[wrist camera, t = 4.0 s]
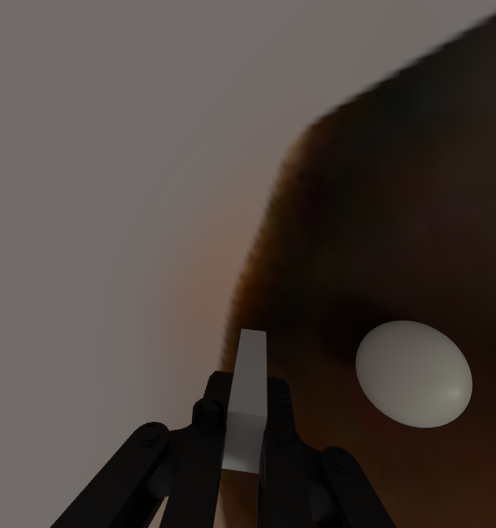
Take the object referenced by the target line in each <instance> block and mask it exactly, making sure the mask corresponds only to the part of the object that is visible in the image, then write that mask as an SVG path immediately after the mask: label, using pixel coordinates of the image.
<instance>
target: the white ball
mask: <svg viewBox="0 0 496 528" xmlns="http://www.w3.org/2000/svg"><path fill="white" fill-rule="evenodd" d="M356 372H357V377H358V380H359V383H360V385H361V387H362V389H363V391H364V393H365V394H366V396H367V397H368V399H369V400H370V401H371V402H372V403H373V404H374V405H375V407H376V408H378V409H379V410H380V411H381V412H383V413H384V414H385V415H387V416H388V417H390V418H392V419H393V420H395V421H398V422H400V423H403V424H406V425H409V426H413V427H421V428H431V427H437V426H441V425H444V424H447V423H449V422H451V421H453V420H454V419H456V418H457V417H458V416H459V415H460V414H461V413H462V412H463V411H464V410H465V408H466V407H467V405H468V403H469V401H470V397H471V393H472V376H471V372H470V368H469V366H468V363H467V361H466V359H465V357H464V356H463V354H462V352H461V351H460V350H459V349H458V347H457V346H456V345H455V344H454V343H453V342H452V341H451V340H450V339H449V338H448V337H447V336H445V335H444V334H442V333H441V332H439V331H438V330H436V329H434V328H432V327H430V326H427V325H425V324H422V323H418V322H413V321H392V322H387V323H384V324H382V325H379V326H378V327H376V328H374V329H373V330H371V331H370V332H369V333H368V334H367V335H366V336H365V337H364V339H363V340H362V342H361V343H360V346H359V348H358V351H357V355H356Z"/></svg>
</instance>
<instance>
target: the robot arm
mask: <svg viewBox="0 0 496 528" xmlns="http://www.w3.org/2000/svg"><path fill="white" fill-rule="evenodd" d="M222 468H224V469H231V470H238V471H245V472H252V473H258V474H259V482H258V488H257V495H256V501H255V504H257V528H396V526H395V524H394V523H393V521H392V519H391V518H390V516H389V514H388V513H387V511H386V509H385V508H384V506H383V504H382V502H381V501H380V499H379V497H378V496H377V494H376V492H375V491H374V489H373V487H372V485H371V484H370V482H369V480H368V479H367V477H366V475H365V474H364V472H363V470H362V469H361V467H360V465H359V463H358V462H357V460H356V459H355V458H354V457H353V455H351V454H350V453H349V452H348V451H346V450H345V449H342V448H340V447H335V446H330V447H327V448H325V449H324V451H323V452H321V451H318V450H316V449H314V448H312V447H310V446H308V445H306V444H305V443H304V442H303V441H302V440H301V439H300V438H299V435H298V434H297V432H296V430H295V424H294V417H293V410H292V403H291V396H290V388H289V386H288V384H287V383H286V381H285V380H284V379H278V378H271V377H267V367H266V332H263V331H256V330H248V329H242V330H241V336H240V342H239V348H238V353H237V359H236V365H235V371H234V373H229V372H221V371H215V372H214V373H213V374H212V375H211V376H210V377H209V380H208V383H207V386H206V390H205V393H204V396H203V398H202V399H200V400H199V401H197V402H196V403H195V405H194V406H193V414H192V424H191V425H189V426H187V427H186V428H183V429H179V430H172V431H169V430H168V428H167V426H165V425H164V424H162V423H158V422H150V423H146V424H144V425H142V426H140V427H139V428H138V429H137V430H135V431H134V432H133V434H132V435H131V436H130V437H129V438H128V439H127V441H126V442H125V443H124V444H123V445H122V446H121V447H120V448H119V450H118V451H117V452H116V453H115V454H114V455H113V457H112V458H111V459H110V460H109V461H108V462H107V463H106V464H105V466H104V467H103V468H102V469H101V470H100V471H99V473H98V474H97V475H96V476H95V477H94V478H93V479H92V480H91V482H90V483H89V484H88V485H87V486H86V487H85V489H84V490H83V491H82V492H81V493H80V494H79V495H78V496H77V498H76V499H75V500H74V501H73V502H72V503H71V504H70V506H69V507H68V508H67V509H66V510H65V511H64V512H63V514H62V515H61V516H60V517H59V518H58V519H57V520H56V521H55V523H54V524H53V525H52V526H51V527H50V528H148V527H149V525H150V523H151V521H152V520H153V518H154V516H155V514H156V512H157V511H158V509H159V507H160V506H161V504H162V502H163V500H164V498H165V497H167V496H169V498H168V501H167V505H166V508H165V511H164V514H163V517H162V520H161V523H160V527H159V528H213V525H214V518H215V512H216V505H217V499H218V492H219V486H220V477H221V470H222Z"/></svg>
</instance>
